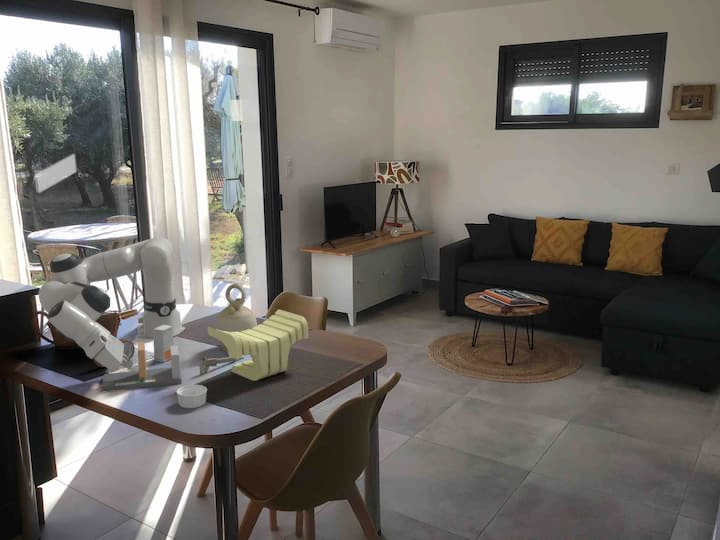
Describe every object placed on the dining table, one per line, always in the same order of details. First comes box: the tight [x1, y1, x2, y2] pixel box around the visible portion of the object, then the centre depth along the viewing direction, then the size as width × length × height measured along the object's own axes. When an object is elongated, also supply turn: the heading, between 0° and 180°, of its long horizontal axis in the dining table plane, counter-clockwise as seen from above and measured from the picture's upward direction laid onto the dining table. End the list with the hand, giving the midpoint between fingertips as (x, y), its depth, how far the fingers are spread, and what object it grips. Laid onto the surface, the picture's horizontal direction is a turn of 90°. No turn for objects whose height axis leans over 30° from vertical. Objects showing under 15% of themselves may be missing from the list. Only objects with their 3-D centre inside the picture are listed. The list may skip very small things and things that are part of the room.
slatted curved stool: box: [207, 308, 309, 382], centre depth 211 cm, size 30×16×18 cm, turn 137°
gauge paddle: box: [137, 342, 147, 382], centre depth 201 cm, size 2×10×10 cm, turn 18°
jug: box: [215, 283, 258, 353], centre depth 234 cm, size 15×16×25 cm
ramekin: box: [176, 384, 208, 409], centre depth 186 cm, size 9×9×4 cm
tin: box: [92, 338, 135, 368], centre depth 218 cm, size 15×3×8 cm, turn 145°
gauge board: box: [101, 344, 182, 393], centre depth 203 cm, size 24×12×10 cm, turn 108°
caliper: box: [199, 356, 245, 376], centre depth 217 cm, size 20×1×6 cm, turn 147°
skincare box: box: [152, 325, 174, 363], centre depth 223 cm, size 6×4×12 cm
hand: (131, 366), depth 202 cm, fingers closed
